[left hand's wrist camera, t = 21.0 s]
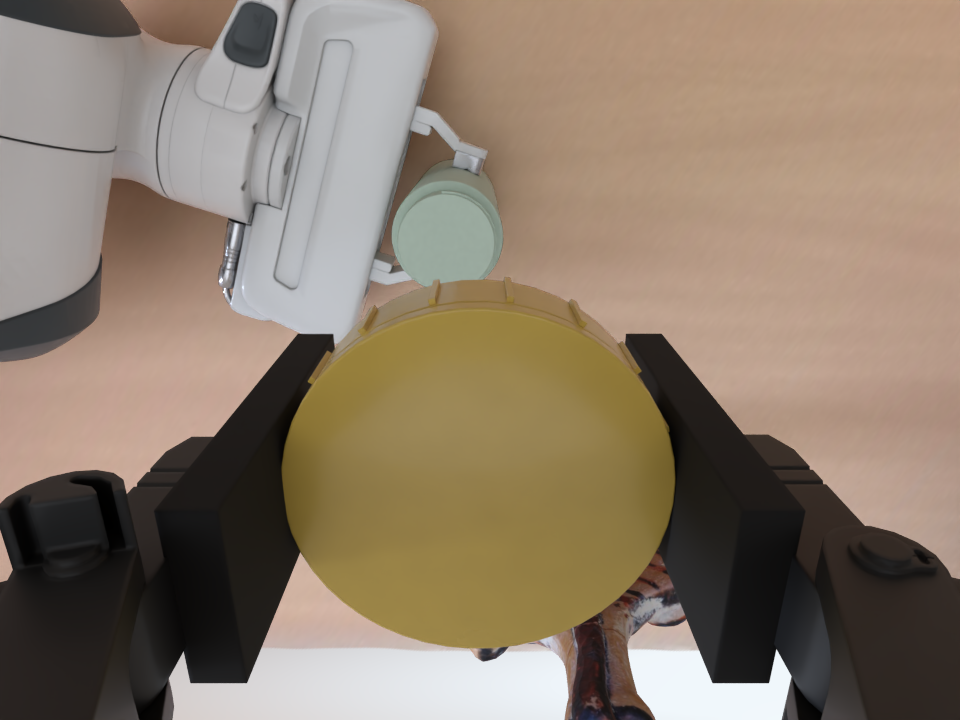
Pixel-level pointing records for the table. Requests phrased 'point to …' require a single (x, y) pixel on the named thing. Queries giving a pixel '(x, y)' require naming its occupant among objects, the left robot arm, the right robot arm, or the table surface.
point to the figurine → (610, 648)
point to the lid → (478, 466)
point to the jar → (448, 227)
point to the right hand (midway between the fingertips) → (466, 218)
